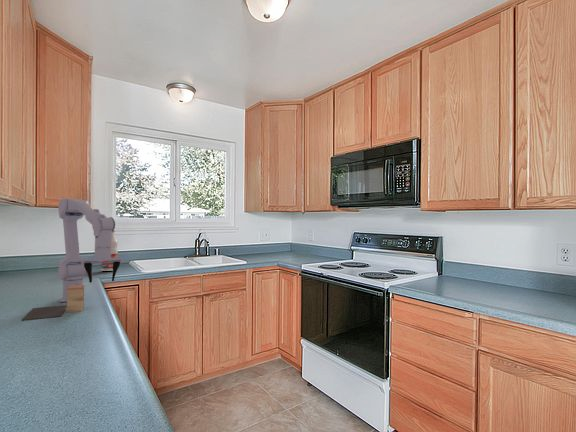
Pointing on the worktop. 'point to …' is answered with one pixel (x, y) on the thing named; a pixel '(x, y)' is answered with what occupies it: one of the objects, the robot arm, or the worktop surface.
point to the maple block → (75, 298)
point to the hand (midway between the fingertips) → (101, 281)
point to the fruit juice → (113, 254)
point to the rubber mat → (45, 312)
